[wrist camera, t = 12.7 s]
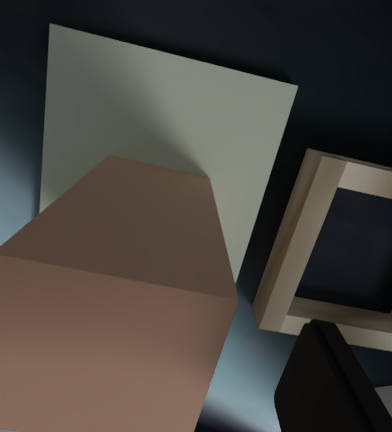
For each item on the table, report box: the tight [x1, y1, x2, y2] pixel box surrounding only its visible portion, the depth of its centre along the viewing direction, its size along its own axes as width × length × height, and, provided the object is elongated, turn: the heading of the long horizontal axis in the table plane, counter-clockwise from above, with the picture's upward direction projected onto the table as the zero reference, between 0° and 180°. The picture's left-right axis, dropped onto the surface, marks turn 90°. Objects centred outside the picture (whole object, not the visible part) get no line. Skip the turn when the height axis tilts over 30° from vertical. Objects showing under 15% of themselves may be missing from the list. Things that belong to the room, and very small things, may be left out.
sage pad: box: [39, 24, 298, 284], centre depth 17 cm, size 11×15×1 cm
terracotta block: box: [0, 155, 239, 432], centre depth 12 cm, size 5×5×10 cm
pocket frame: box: [252, 148, 392, 351], centre depth 18 cm, size 10×10×2 cm
